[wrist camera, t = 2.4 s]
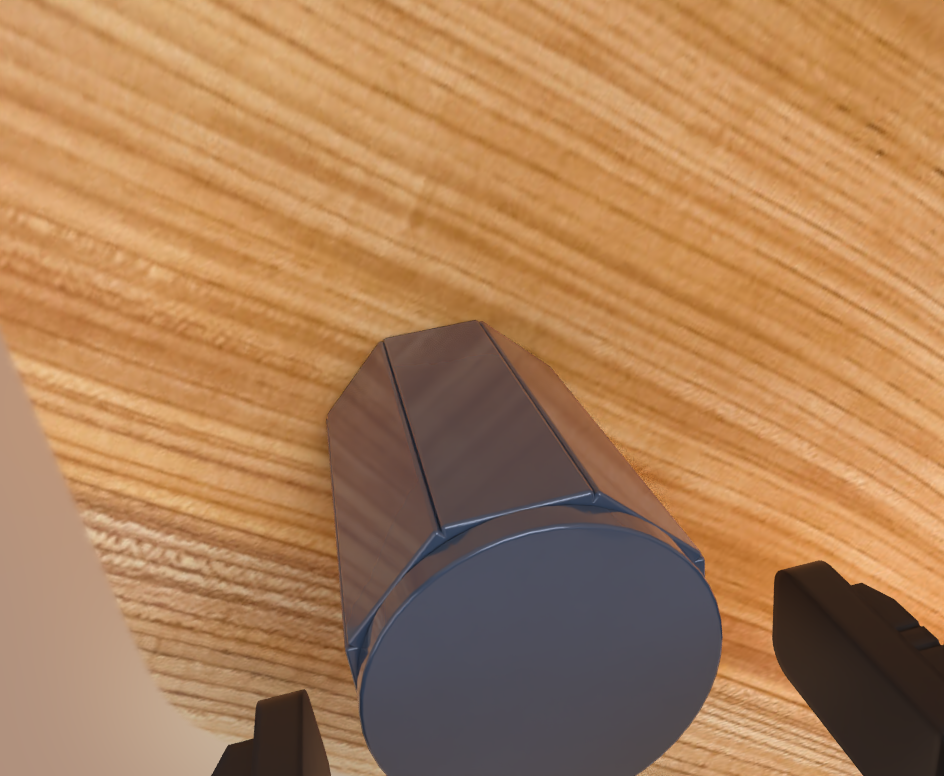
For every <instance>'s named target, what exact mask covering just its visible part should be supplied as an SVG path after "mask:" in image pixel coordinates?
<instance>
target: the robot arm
mask: <svg viewBox="0 0 944 776" xmlns="http://www.w3.org/2000/svg"><path fill="white" fill-rule="evenodd" d="M772 640H773V647H774V651H775V655H776V658H777V660H778V663H779V665H780V667H781V669H782V671H783V672H784V674H785V676H786V677H787V678H788V680H789V681H790V682H791V683H792V685H793V686H794V687H795V689H796V690H797V691H798V692H799V694H800V695H801V696H802V698H803V699H804V700H805V701H806V703H807V704H808V705H809V707H810V708H811V709H812V710H813V712H814V713H815V714H816V716H817V717H818V718H819V719H820V721H821V722H822V723H823V725H824V726H825V727H826V728H827V730H828V731H829V732H830V734H831V735H832V736H833V737H834V739H835V740H836V741H837V743H838V744H839V745H840V746H841V748H842V749H843V750H844V752H845V753H846V754H847V755H848V757H849V758H850V759H851V761H852V762H853V763H854V764H855V766H856V767H857V768H858V770H859V771H860V772H861V773H862V775H863V776H944V645H940V644H939V640H938V639H937V638H936V637H935V636H934V635H932V634H931V633H930V632H929V631H928V630H927V629H926V628H925V627H924V626H922V627H921V626H920V625H919V623H918V621H917V620H916V619H915V618H914V617H913V616H912V615H911V614H910V613H908V612H907V611H906V610H905V609H904V608H903V607H902V606H901V605H900V604H899V603H898V602H896V601H895V600H894V599H893V598H891V597H889V596H887V595H885V594H883V593H881V592H879V591H877V590H875V589H873V588H871V587H869V586H867V585H865V584H863V583H859V584H855V585H850V584H849V583H848V582H847V581H846V580H845V579H844V578H843V577H842V576H841V575H840V574H839V573H838V572H836V571H835V570H834V569H833V568H832V567H831V566H830V565H829V564H828V563H826V562H824V561H815V562H811V563H807V564H803V565H799V566H795V567H791V568H787V569H784V570H780V571H778V572H777V573H776V575H775V580H774V605H773V634H772ZM211 776H331V773H330V768H329V763H328V759H327V755H326V751H325V748H324V745H323V742H322V738H321V735H320V732H319V729H318V725H317V722H316V719H315V716H314V712H313V709H312V706H311V703H310V699H309V696H308V694H307V692H306V690H305V689H304V690H300V691H296V692H292V693H288V694H284V695H280V696H276V697H272V698H268V699H264V700H260V701H258V703H257V706H256V713H255V726H254V739H250V740H246V741H243V742H239V743H235V744H231V745H228V746H227V748H226V750H225V752H224V753H223V755H222V757H221V759H220V761H219V763H218V764H217V767H216V768H215V770H214V772H213V774H212V775H211Z"/></svg>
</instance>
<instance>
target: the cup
mask: <svg viewBox="0 0 944 776" xmlns="http://www.w3.org/2000/svg"><path fill="white" fill-rule="evenodd" d="M326 425H327V437H328V449H329V461H330V473H331V485H332V498H333V510H334V522H335V534H336V546H337V558H338V570H339V583H340V595H341V607H342V619H343V631H344V643H345V652H346V656H347V659H348V663H349V667H350V670H351V674H352V678H353V681H354V685H355V689H356V692H357V698H358V708H359V717H360V722H361V728H362V733H363V736H364V738H365V741H366V744H367V746H368V749H369V751H370V753H371V754H372V756H373V758H374V759H375V761H376V763H377V764H378V766H379V767H380V768H381V769H382V771H383V772H384V773H385V774H386V775H387V776H636V775H637V774H639V773H640V772H642V771H643V770H645V769H646V768H647V767H648V766H650V765H651V764H652V763H653V762H655V761H656V760H657V759H658V758H660V757H661V756H662V755H663V754H664V753H665V752H666V751H667V750H668V749H669V748H670V747H671V746H672V745H673V744H674V743H675V742H676V741H677V740H678V739H679V738H680V736H681V735H682V734H683V733H684V732H685V731H686V729H687V728H688V727H689V726H690V724H691V723H692V721H693V720H694V718H695V717H696V716H697V714H698V713H699V711H700V710H701V708H702V706H703V704H704V702H705V700H706V698H707V697H708V695H709V693H710V690H711V688H712V685H713V683H714V680H715V677H716V675H717V671H718V667H719V662H720V658H721V649H722V625H721V617H720V613H719V609H718V605H717V601H716V598H715V596H714V594H713V592H712V589H711V587H710V585H709V583H708V582H707V580H706V579H705V559H704V557H703V556H702V555H701V552H700V550H699V549H698V548H697V547H696V545H695V544H694V543H693V542H692V541H691V539H690V538H689V537H688V536H687V534H686V533H685V532H684V531H683V529H682V528H681V527H680V526H679V525H678V523H677V522H676V521H675V520H674V518H673V517H672V516H671V515H670V513H669V512H668V511H667V510H666V509H665V507H664V506H663V505H662V504H661V502H660V501H659V500H658V499H657V497H656V496H655V495H654V494H653V493H652V491H651V490H650V489H649V488H648V486H647V485H646V484H645V483H644V481H643V480H642V479H641V478H640V477H639V475H638V474H637V473H636V472H635V470H634V469H633V468H632V467H631V465H630V464H629V463H628V462H627V461H626V459H625V458H624V457H623V456H622V454H621V453H620V452H619V451H618V449H617V448H616V447H615V446H614V445H613V443H612V442H611V441H610V440H609V438H608V437H607V436H606V435H605V433H604V432H603V431H602V430H601V429H600V427H599V426H598V425H597V424H596V422H595V421H594V420H593V419H592V417H591V416H590V415H589V414H588V413H587V411H586V410H585V409H584V408H583V406H582V405H581V404H580V403H579V401H578V400H577V399H576V398H575V397H574V395H573V394H572V393H571V392H570V390H569V389H568V388H567V387H566V385H565V384H564V383H563V382H562V381H561V379H560V378H559V377H558V376H557V374H556V373H555V372H554V371H553V369H552V368H551V367H550V366H548V365H547V364H546V363H544V362H543V361H541V360H540V359H538V358H537V357H535V356H534V355H532V354H531V353H529V352H528V351H526V350H525V349H523V348H522V347H520V346H519V345H517V344H516V343H514V342H513V341H511V340H510V339H508V338H507V337H505V336H504V335H502V334H501V333H499V332H498V331H496V330H495V329H493V328H492V327H490V326H489V325H488V324H486V323H485V322H483V321H480V322H478V321H477V320H474V321H469V322H464V323H459V324H454V325H449V326H444V327H439V328H434V329H429V330H424V331H419V332H414V333H409V334H404V335H399V336H395V337H390V338H386V339H384V342H379V343H378V345H377V346H376V347H375V349H374V350H373V352H372V353H371V354H370V356H369V357H368V359H367V360H366V361H365V363H364V364H363V366H362V367H361V368H360V370H359V371H358V373H357V374H356V375H355V377H354V378H353V380H352V381H351V382H350V384H349V385H348V387H347V388H346V389H345V391H344V392H343V394H342V395H341V396H340V398H339V399H338V401H337V402H336V403H335V405H334V406H333V408H332V409H331V410H330V412H329V413H328V419H326Z"/></svg>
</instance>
